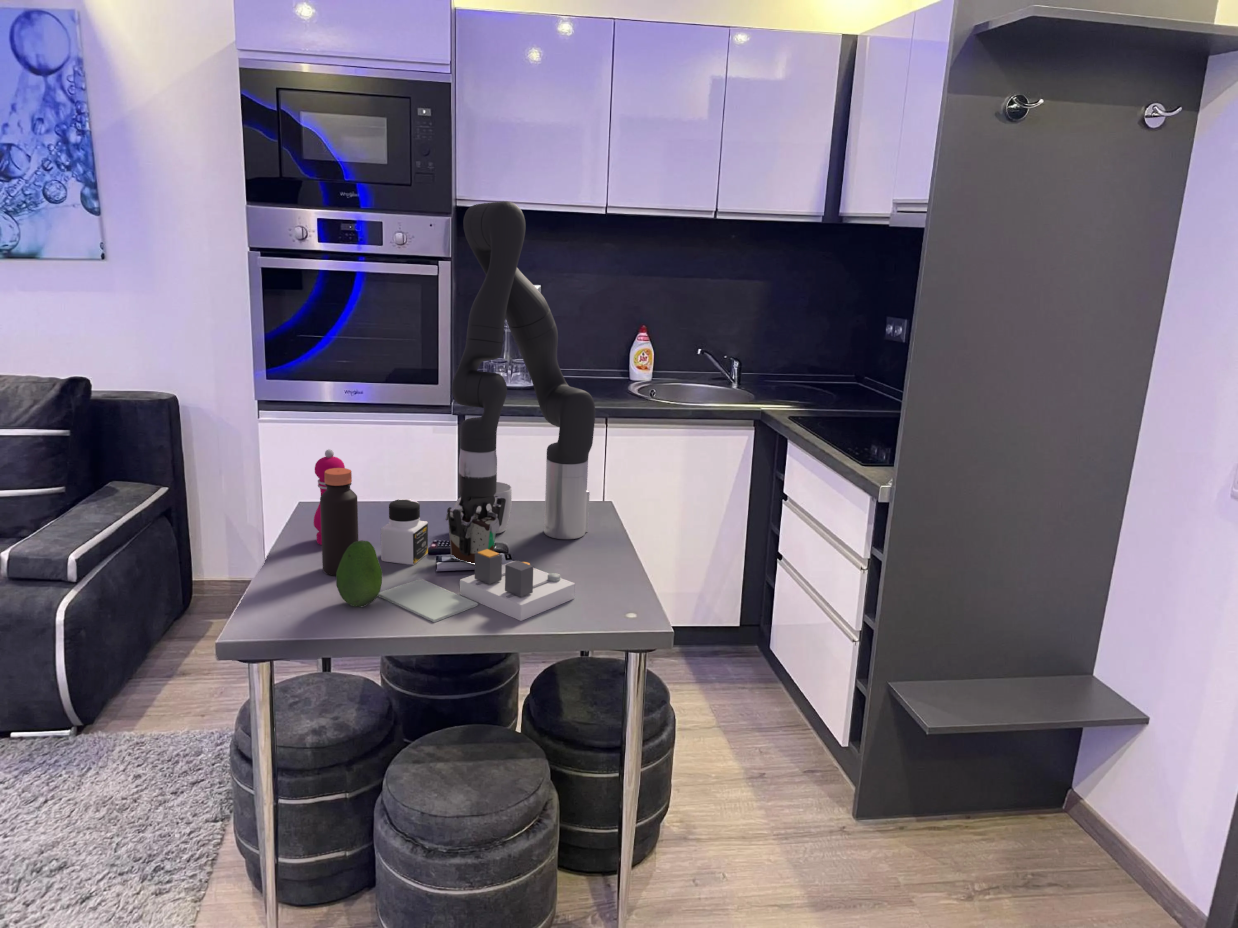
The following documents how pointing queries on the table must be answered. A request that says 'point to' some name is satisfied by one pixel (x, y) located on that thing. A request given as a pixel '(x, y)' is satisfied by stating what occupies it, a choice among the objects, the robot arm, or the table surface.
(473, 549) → the food container
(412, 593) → the pad
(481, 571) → the toggle
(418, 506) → the medicine bottle
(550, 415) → the robot arm
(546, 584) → the panel
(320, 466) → the pepper mill
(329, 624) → the table surface
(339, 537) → the vinegar
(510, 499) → the mug
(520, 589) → the toggle
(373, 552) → the avocado
